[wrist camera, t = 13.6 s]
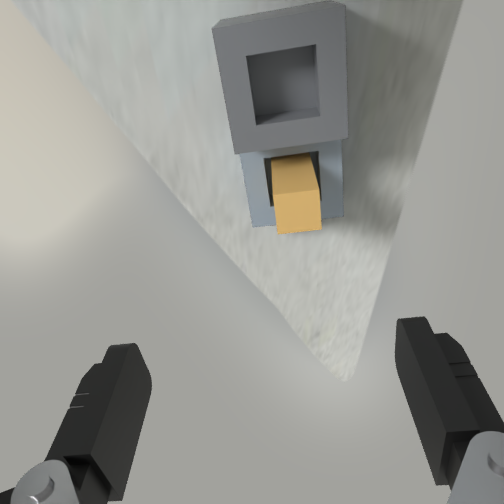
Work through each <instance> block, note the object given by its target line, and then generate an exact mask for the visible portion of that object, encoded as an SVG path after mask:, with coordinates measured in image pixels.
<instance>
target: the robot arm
mask: <svg viewBox="0 0 504 504" xmlns="http://www.w3.org/2000/svg"><path fill="white" fill-rule="evenodd" d="M395 362H396V368H397V372H398V376H399V378H400V382H401V384H402V387H403V390H404V393H405V396H406V399H407V402H408V405H409V408H410V410H411V414H412V417H413V419H414V422H415V425H416V428H417V431H418V434H419V437H420V440H421V443H422V446H423V449H424V452H425V454H426V457H427V460H428V463H429V466H430V469H431V472H432V475H433V478H434V481H435V484H436V485H449V486H450V489H451V494H450V497H449V499H448V502H447V504H504V422H503V421H502V419H501V417H500V415H499V413H498V411H497V410H496V408H495V406H494V404H493V402H492V401H491V398H490V397H489V395H488V393H487V391H486V389H485V387H484V386H483V384H482V382H481V380H480V378H478V376H477V373H476V371H475V369H474V367H473V366H472V365H471V363H470V360H469V358H468V356H467V354H466V353H465V351H464V349H463V347H462V346H461V345H460V344H459V343H458V342H457V341H456V340H455V339H453V338H452V337H451V336H450V335H449V334H448V333H440V334H434V333H433V331H432V329H431V327H430V324H429V322H428V320H427V319H426V318H425V317H412V318H403V319H398V320H397V326H396V343H395ZM151 390H152V382H151V375H150V373H149V370H148V368H147V366H146V364H145V362H144V359H143V357H142V355H141V352H140V350H139V348H138V346H137V345H136V344H135V343H130V344H120V345H111V346H110V347H109V348H108V350H107V352H106V354H105V356H104V359H103V361H102V363H98V364H94V365H93V366H92V367H91V369H90V370H89V371H88V372H87V373H86V374H85V375H84V377H83V378H82V380H81V382H80V384H79V386H78V389H77V391H76V393H75V394H76V395H75V396H74V397H73V400H72V402H71V404H70V409H68V411H67V413H66V415H65V417H64V419H63V422H62V424H61V426H60V428H59V430H58V433H57V435H56V437H55V439H54V441H53V444H52V446H51V448H50V450H49V452H48V455H47V457H46V459H45V460H44V462H42V463H40V464H38V465H36V466H35V467H33V468H31V469H30V470H29V471H28V472H27V473H26V474H25V475H24V476H23V477H22V478H21V479H20V480H19V482H18V483H17V485H16V487H14V488H12V489H9V490H7V491H4V492H2V493H0V504H107V502H108V501H122V499H123V495H124V492H125V488H126V484H127V481H128V477H129V473H130V469H131V465H132V462H133V458H134V455H135V451H136V447H137V444H138V439H139V436H140V432H141V429H142V425H143V421H144V418H145V414H146V410H147V407H148V403H149V399H150V395H151Z"/></svg>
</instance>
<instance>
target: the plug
mask: <svg viewBox="0 0 504 504" xmlns="http://www.w3.org/2000/svg"><path fill="white" fill-rule="evenodd" d="M271 168H272V189H273V201H274V208H275V216H276V224H277V232H278V234H285V233H294V232H303V231H312V230H320V229H322V227H321V210H320V193H319V187H318V183H317V179H316V175H315V172H314V168H313V164H312V161H311V157H310V153H309V152H306V153H299V154H292V155H285V156H277V157H271Z"/></svg>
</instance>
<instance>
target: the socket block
mask: <svg viewBox="0 0 504 504" xmlns="http://www.w3.org/2000/svg"><path fill="white" fill-rule="evenodd" d="M212 33H213V38H214V44H215V49H216V55H217V60H218V65H219V71H220V76H221V82H222V87H223V93H224V98H225V103H226V109H227V114H228V120H229V125H230V130H231V136H232V141H233V147H234V152H235V154H240V158H241V164H242V169H243V175H244V181H245V186H246V192H247V197H248V203H249V209H250V214H251V220H252V226H253V227H261V226H269V225H277V224H276V216H275V208H274V201H273V189H272V168H271V157H277V156H285V155H292V154H299V153H306V152H309V153H310V157H311V161H312V164H313V168H314V172H315V175H316V179H317V183H318V187H319V193H320V210H321V219H326V218H334V217H342V216H344V205H343V174H342V144H341V139H347V138H348V105H347V62H346V18H345V5H343V4H340V3H337V2H333V1H324V2H319V3H313V4H308V5H302V6H296V7H291V8H285V9H279V10H274V11H268V12H263V13H257V14H251V15H246V16H240V17H234V18H229V19H223V20H220V21H219V22H218V23H217V24H216V25H215V26H214V27H213V28H212Z"/></svg>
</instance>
